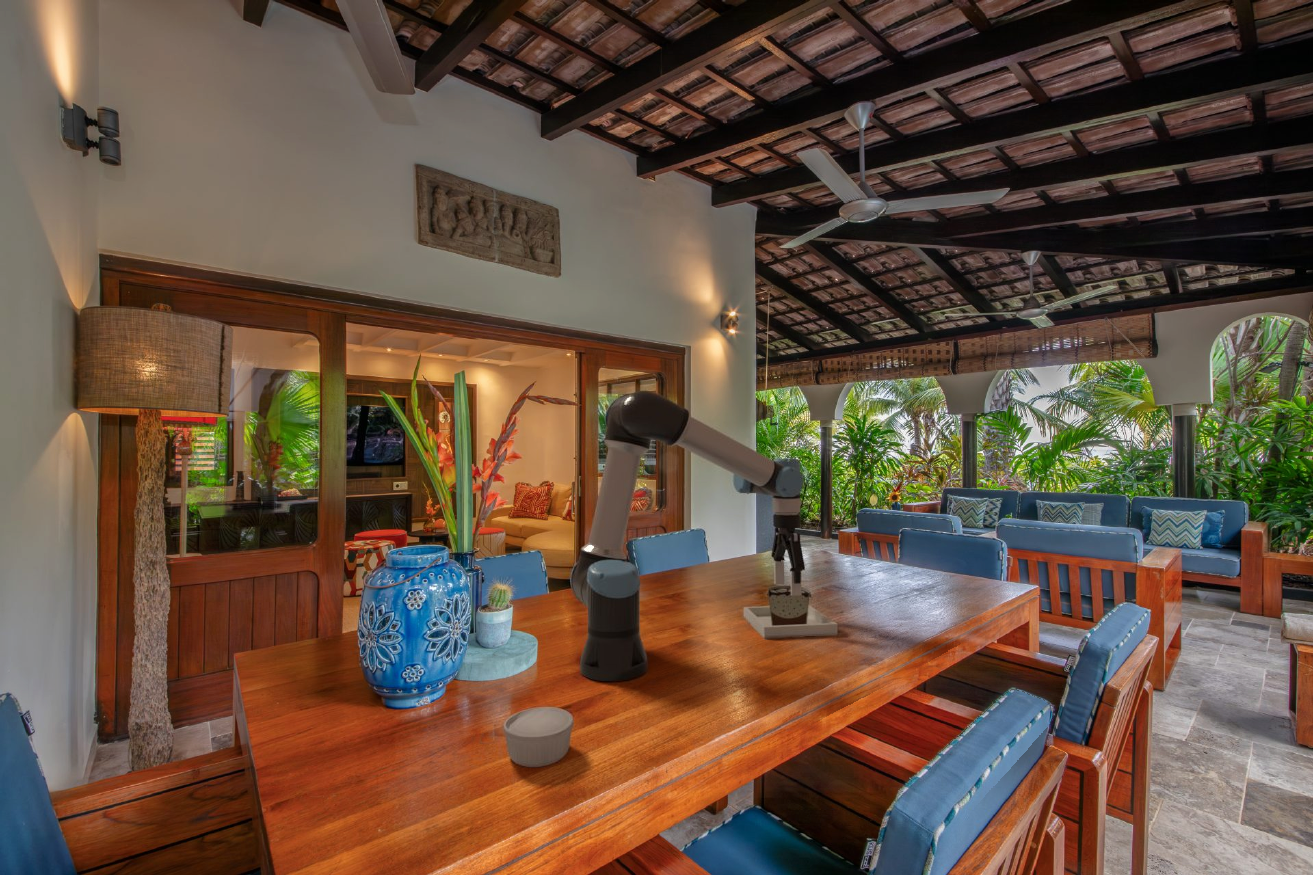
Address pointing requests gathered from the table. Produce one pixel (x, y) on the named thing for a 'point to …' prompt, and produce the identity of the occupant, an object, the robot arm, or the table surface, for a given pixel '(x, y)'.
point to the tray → (814, 626)
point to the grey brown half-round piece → (788, 606)
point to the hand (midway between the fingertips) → (787, 589)
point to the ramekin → (538, 736)
